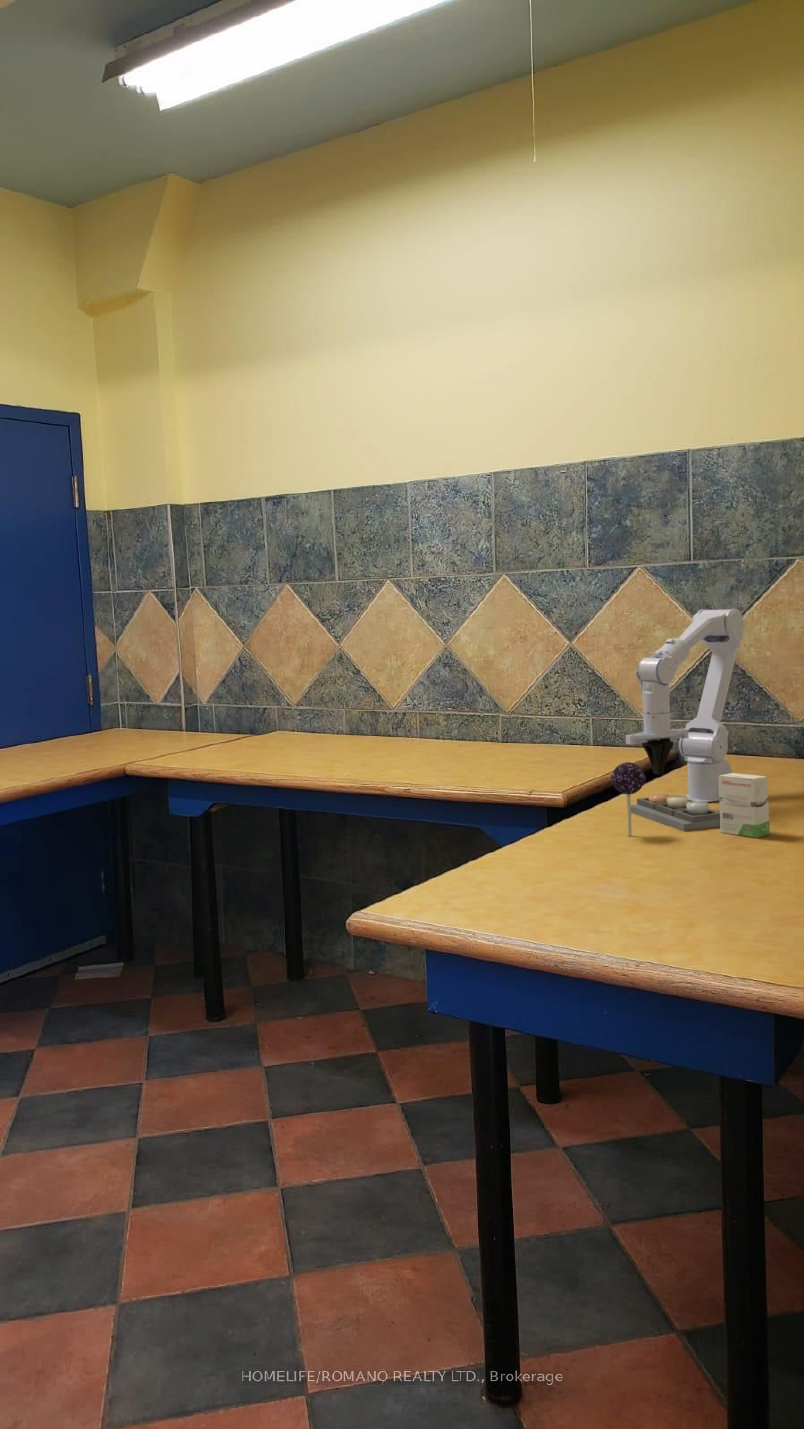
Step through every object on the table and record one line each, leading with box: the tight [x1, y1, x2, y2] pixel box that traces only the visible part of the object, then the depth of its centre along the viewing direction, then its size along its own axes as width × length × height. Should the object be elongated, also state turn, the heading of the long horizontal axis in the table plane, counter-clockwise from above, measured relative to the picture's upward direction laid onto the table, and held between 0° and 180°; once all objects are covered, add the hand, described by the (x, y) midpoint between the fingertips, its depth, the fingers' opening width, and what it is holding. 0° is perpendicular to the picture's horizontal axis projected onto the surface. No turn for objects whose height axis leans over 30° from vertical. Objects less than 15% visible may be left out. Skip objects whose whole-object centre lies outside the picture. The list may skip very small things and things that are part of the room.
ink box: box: [718, 772, 771, 839], centre depth 215 cm, size 9×5×12 cm, turn 39°
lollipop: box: [610, 761, 647, 837], centre depth 218 cm, size 7×7×15 cm
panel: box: [631, 796, 720, 832], centre depth 232 cm, size 11×22×3 cm, turn 18°
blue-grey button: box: [686, 801, 710, 814], centre depth 224 cm, size 4×4×2 cm
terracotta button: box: [648, 793, 670, 803], centre depth 239 cm, size 4×4×2 cm
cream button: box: [667, 794, 689, 808], centre depth 231 cm, size 4×4×2 cm
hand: (658, 773), depth 238 cm, fingers closed
